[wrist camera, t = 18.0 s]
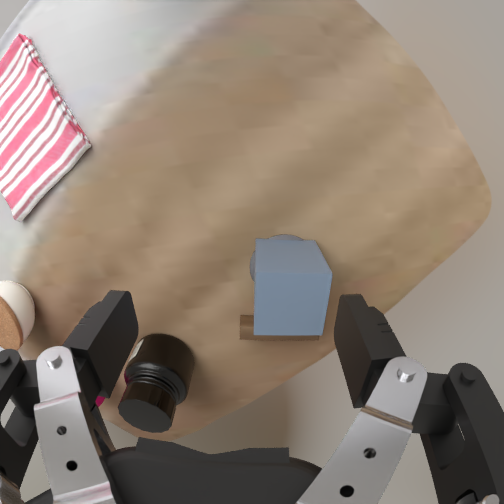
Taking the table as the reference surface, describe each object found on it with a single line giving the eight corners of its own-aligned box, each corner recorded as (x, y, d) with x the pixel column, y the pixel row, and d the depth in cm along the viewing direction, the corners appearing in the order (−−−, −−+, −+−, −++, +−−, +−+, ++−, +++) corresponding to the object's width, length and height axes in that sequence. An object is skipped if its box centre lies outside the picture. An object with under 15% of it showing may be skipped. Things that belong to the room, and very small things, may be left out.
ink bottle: (128, 330, 40) (96, 388, 28) (184, 326, 39) (163, 391, 28) (150, 378, 43) (129, 436, 32) (202, 377, 43) (190, 440, 31)
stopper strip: (240, 315, 38) (239, 326, 36) (317, 316, 38) (321, 327, 36) (240, 327, 39) (239, 339, 37) (315, 328, 39) (318, 340, 37)
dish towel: (32, 32, 24) (17, 27, 20) (97, 145, 31) (82, 147, 27) (-27, 113, 27) (-42, 115, 24) (27, 223, 34) (12, 230, 31)
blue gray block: (255, 238, 34) (255, 272, 26) (314, 240, 34) (332, 273, 26) (254, 291, 37) (253, 335, 29) (309, 292, 37) (322, 335, 29)
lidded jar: (3, 308, 40) (-26, 336, 31) (1, 259, 36) (-35, 285, 27) (45, 335, 41) (18, 369, 32) (45, 287, 37) (11, 319, 29)
